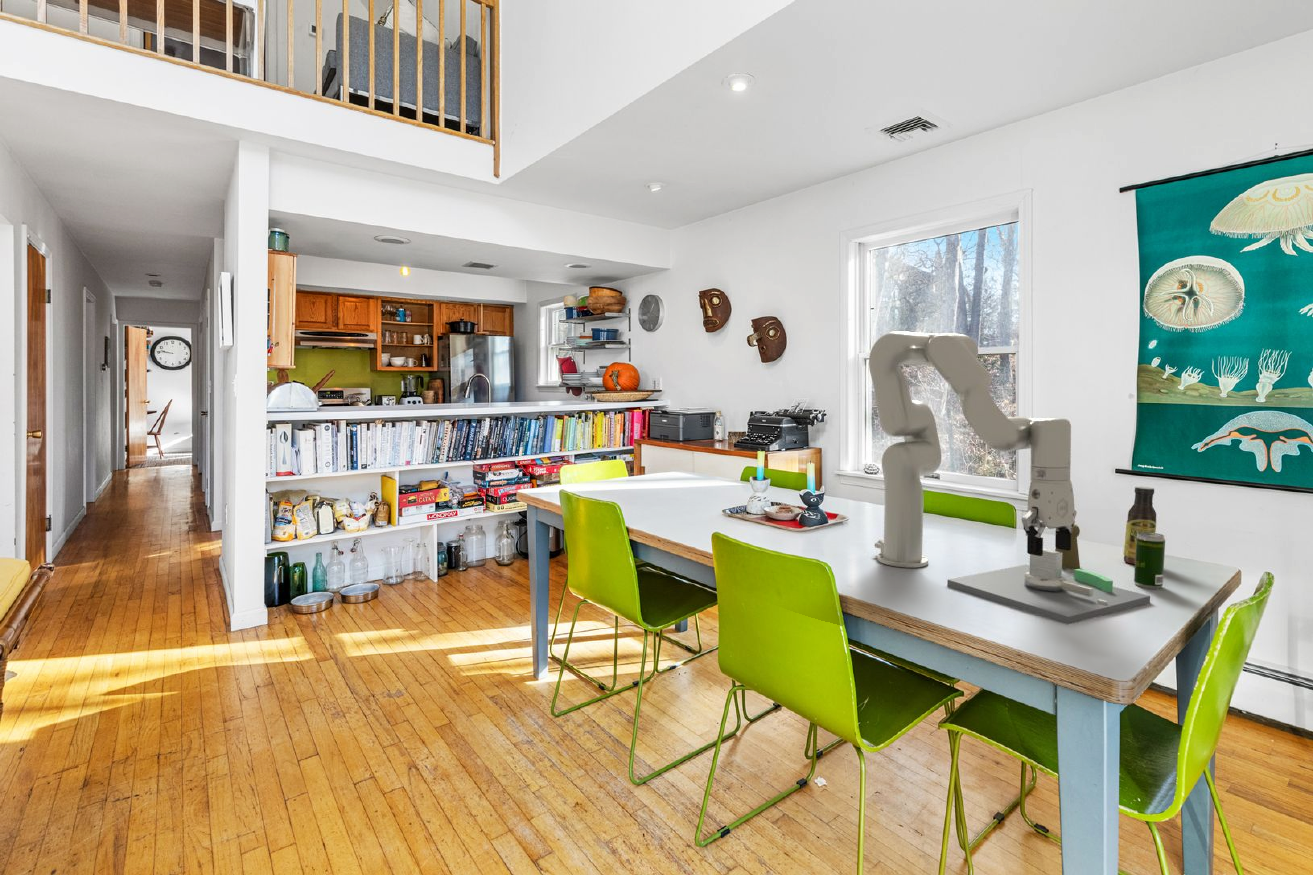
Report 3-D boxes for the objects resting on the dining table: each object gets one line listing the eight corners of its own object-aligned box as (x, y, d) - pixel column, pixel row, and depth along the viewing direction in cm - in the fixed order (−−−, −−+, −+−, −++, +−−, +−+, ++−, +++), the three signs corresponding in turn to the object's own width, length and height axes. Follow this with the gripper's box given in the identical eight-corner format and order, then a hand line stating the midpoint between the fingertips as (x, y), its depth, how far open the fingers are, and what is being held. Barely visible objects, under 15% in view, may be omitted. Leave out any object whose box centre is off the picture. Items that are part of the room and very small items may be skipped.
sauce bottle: (1126, 565, 171) (1130, 488, 169) (1120, 559, 177) (1123, 485, 175) (1157, 567, 168) (1161, 489, 167) (1149, 561, 174) (1153, 486, 173)
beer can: (1167, 587, 152) (1170, 535, 151) (1154, 590, 150) (1157, 537, 149) (1142, 581, 157) (1144, 530, 156) (1128, 584, 155) (1131, 533, 154)
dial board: (947, 585, 154) (947, 569, 154) (1025, 570, 166) (1026, 555, 166) (1068, 624, 129) (1069, 604, 129) (1149, 602, 141) (1150, 584, 141)
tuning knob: (1016, 583, 149) (1017, 548, 149) (1038, 578, 153) (1040, 544, 152) (1079, 601, 137) (1081, 563, 136) (1102, 595, 140) (1104, 558, 140)
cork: (1084, 569, 167) (1086, 526, 166) (1057, 568, 168) (1059, 525, 167) (1074, 563, 173) (1076, 521, 172) (1048, 562, 174) (1050, 520, 173)
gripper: (1041, 479, 138) (1040, 560, 139) (1091, 473, 146) (1090, 550, 147) (1008, 475, 145) (1007, 553, 146) (1058, 470, 153) (1057, 544, 153)
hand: (1049, 552), depth 146 cm, fingers open, 9 cm apart
